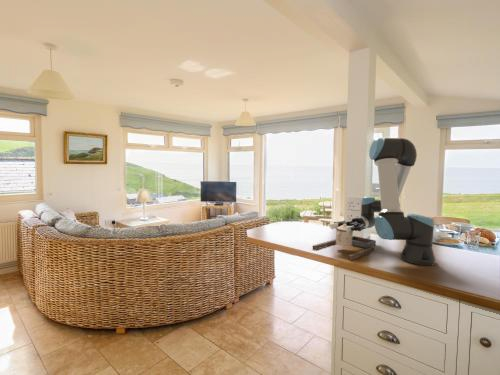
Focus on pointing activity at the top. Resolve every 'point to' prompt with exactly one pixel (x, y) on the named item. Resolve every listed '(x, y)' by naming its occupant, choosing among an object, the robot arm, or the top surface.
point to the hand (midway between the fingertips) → (339, 228)
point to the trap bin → (363, 242)
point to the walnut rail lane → (349, 255)
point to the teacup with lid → (343, 236)
